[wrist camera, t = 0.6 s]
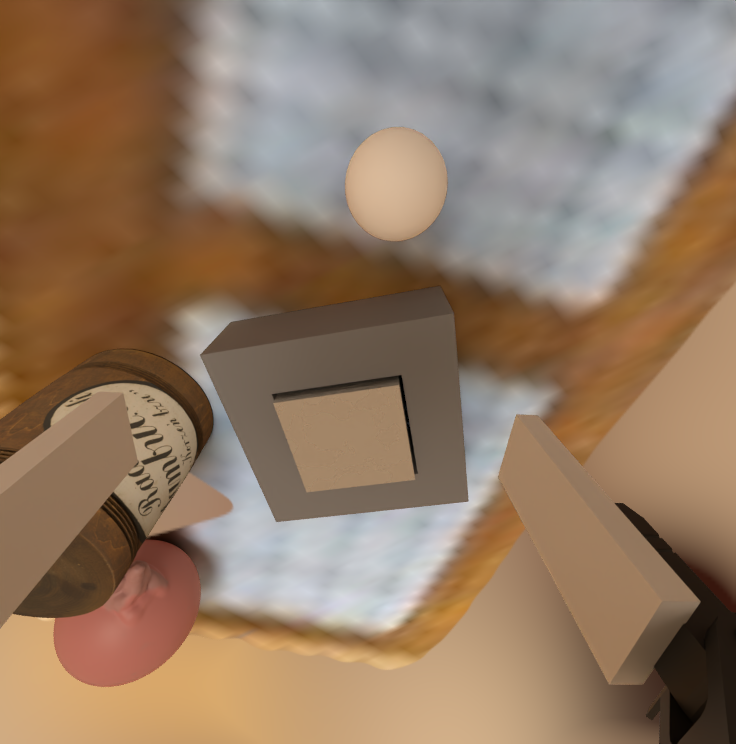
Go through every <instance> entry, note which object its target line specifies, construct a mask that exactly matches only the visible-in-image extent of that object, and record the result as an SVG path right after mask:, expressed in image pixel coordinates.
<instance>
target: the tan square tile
mask: <svg viewBox="0 0 736 744" xmlns="http://www.w3.org/2000/svg"><path fill="white" fill-rule="evenodd" d="M273 404H274V407H275V410H276V412H277V415H278V418H279V420H280V423H281V426H282V428H283V431H284V434H285V436H286V439H287V442H288V444H289V447H290V450H291V452H292V455H293V457H294V460H295V463H296V465H297V468H298V471H299V473H300V476H301V479H302V481H303V484H304V487H305V489H306V492H314V491H323V490H331V489H340V488H349V487H358V486H366V485H375V484H384V483H392V482H401V481H410V480H415V473H414V464H413V456H412V450H411V444H410V438H409V432H408V426H407V421H406V415H405V409H404V403H403V397H402V391H401V385H400V379H399V375H397V376H391V377H384V378H377V379H370V380H363V381H357V382H350V383H343V384H336V385H330V386H323V387H316V388H309V389H303V390H296V391H289V392H282V393H277V396H276V398H275V400H274V402H273Z"/></svg>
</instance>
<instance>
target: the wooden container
mask: <svg viewBox="0 0 736 744" xmlns="http://www.w3.org/2000/svg"><path fill="white" fill-rule="evenodd" d="M98 391H99V392H117V393H123V394H124V398H125V403H126V408H127V413H128V417H129V422H130V427H131V431H132V436H133V441H134V446H135V450H136V455H137V460H138V462H137V464H136V465H135V466H134V467H133V468H132V470H131V471H130V472H129V473H128V474H127V476H126V477H125V478H124V479H123V480H122V482H121V483H120V484H119V485H118V487H117V488H116V489H115V490H114V491H113V493H112V494H111V495H110V496H109V497H108V499H107V500H106V501H105V502H104V503H103V505H102V506H101V507H100V508H99V509H98V511H97V512H96V513H95V514H94V516H93V517H92V518H91V519H90V520H89V522H88V523H87V524H86V525H85V526H84V528H83V529H82V530H81V531H80V532H79V534H78V535H77V536H76V537H75V539H74V540H73V541H72V542H71V543H70V545H69V546H68V547H67V548H66V549H65V551H64V552H63V553H62V554H61V555H60V557H59V558H58V559H57V560H56V561H55V563H54V564H53V565H52V566H51V568H50V569H49V570H48V571H47V572H46V574H45V575H44V576H43V577H42V578H41V580H40V581H39V582H38V583H37V584H36V586H35V587H34V588H33V589H32V591H31V592H30V593H29V594H28V595H27V597H26V598H25V599H24V600H23V601H22V603H21V604H20V605H19V606H18V607H17V609H16V610H15V611H14V612H13V613H12V614H17V615H23V616H31V617H42V618H67V617H73V616H79V615H84V614H87V613H90V612H92V611H94V610H96V609H98V608H100V607H101V606H103V605H104V604H105V603H106V602H107V601H108V600H109V599H110V597H111V596H112V595H113V593H114V592H115V590H116V589H117V587H118V586H119V584H120V582H121V581H122V579H123V578H124V576H125V574H126V573H127V571H128V569H129V568H130V566H131V564H132V563H133V561H134V559H135V557H136V554H137V552H138V550H139V549H140V547H141V546H142V544H143V542H144V541H145V539H146V538H147V536H148V535H149V533H150V532H151V530H152V528H153V527H154V525H155V524H156V522H157V521H158V519H159V518H160V516H161V514H162V513H163V511H164V510H165V508H166V507H167V505H168V504H169V502H170V501H171V499H172V498H173V496H174V495H175V493H176V492H177V490H178V489H179V487H180V485H181V484H182V482H183V481H184V479H185V478H186V476H187V474H188V473H189V471H190V470H191V468H192V466H193V465H194V463H195V461H196V459H197V458H198V456H199V454H200V453H201V451H202V449H203V448H204V446H205V444H206V443H207V441H208V439H209V437H210V435H211V432H212V428H213V416H212V410H211V407H210V404H209V402H208V399H207V397H206V396H205V394H204V392H203V391H202V390H201V388H200V387H199V385H198V384H197V383H196V382H195V381H194V380H193V379H192V378H191V377H190V376H189V375H188V374H186V373H185V372H184V371H183V370H181V369H180V368H179V367H177V366H176V365H174V364H172V363H171V362H169V361H167V360H165V359H163V358H161V357H158V356H156V355H153V354H150V353H147V352H143V351H138V350H131V349H115V350H109V351H104V352H101V353H98V354H96V355H94V356H92V357H90V358H89V359H87V360H86V361H84V362H83V363H81V364H80V365H78V366H77V367H75V368H74V369H72V370H71V371H69V372H68V373H66V374H65V375H63V376H61V377H60V378H58V379H57V380H55V381H54V382H52V383H51V384H50V385H48V386H47V387H45V388H44V389H42V390H41V391H39V392H38V393H36V394H35V395H34V396H32V397H31V398H29V399H28V400H26V401H25V402H24V403H22V404H21V405H19V406H18V407H17V408H15V409H14V410H13V411H11V412H10V413H9V414H7V415H6V416H5V417H3V418H2V419H1V420H0V464H1V463H3V462H4V461H6V460H7V459H8V458H10V457H11V456H12V455H14V454H15V453H16V452H18V451H19V450H20V449H22V448H23V447H24V446H26V445H27V444H28V443H30V442H31V441H32V440H34V439H35V438H36V437H38V436H39V435H41V434H42V433H43V432H45V431H46V430H47V429H49V428H50V427H51V426H53V425H54V424H55V423H57V422H58V421H59V420H61V419H62V418H63V417H65V416H66V415H67V414H69V413H70V412H71V411H73V410H74V409H76V408H77V407H78V406H80V405H81V404H82V403H84V402H85V401H86V400H88V399H89V398H90V397H92V396H93V395H94V394H96V393H97V392H98Z"/></svg>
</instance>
